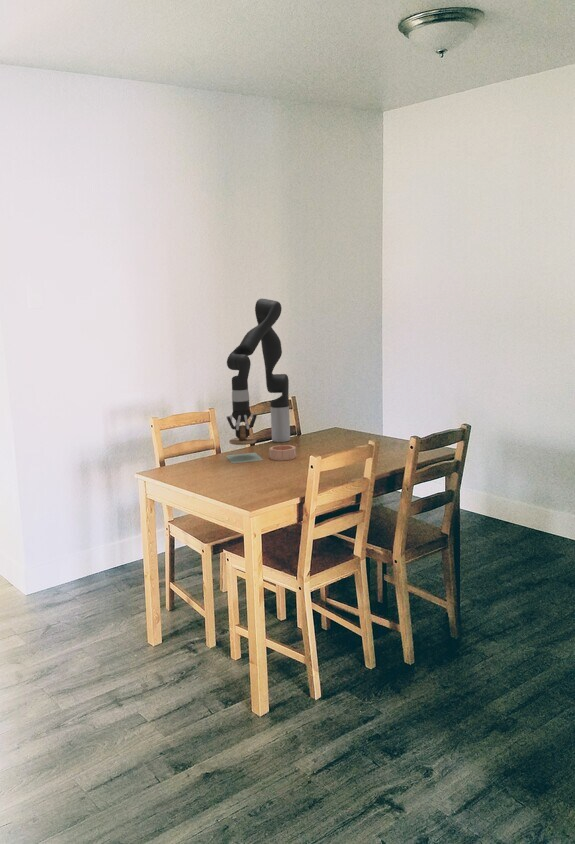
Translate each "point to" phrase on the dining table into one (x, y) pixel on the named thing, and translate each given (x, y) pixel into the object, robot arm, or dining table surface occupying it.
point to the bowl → (282, 452)
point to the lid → (242, 437)
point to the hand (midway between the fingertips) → (242, 437)
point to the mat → (244, 457)
